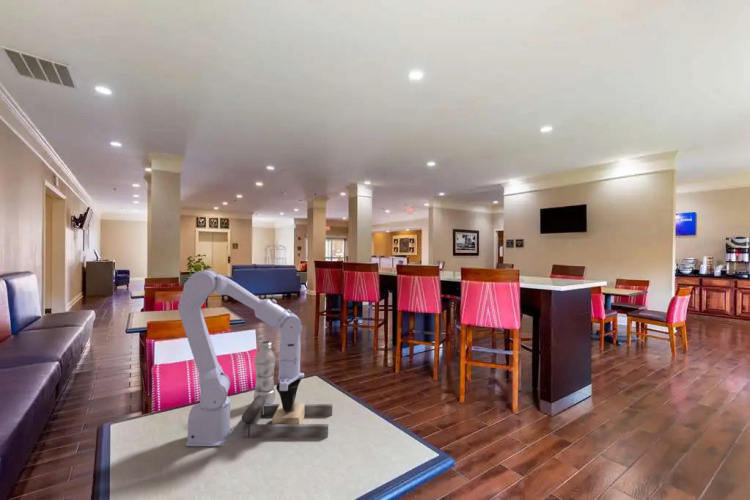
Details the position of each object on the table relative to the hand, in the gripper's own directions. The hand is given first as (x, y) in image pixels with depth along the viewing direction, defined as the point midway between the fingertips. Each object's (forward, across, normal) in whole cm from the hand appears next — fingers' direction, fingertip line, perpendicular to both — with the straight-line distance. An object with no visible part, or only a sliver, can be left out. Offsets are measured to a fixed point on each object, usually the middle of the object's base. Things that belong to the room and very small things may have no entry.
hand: (288, 407), depth 96 cm
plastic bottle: (+6, +16, +11) cm, 20 cm away
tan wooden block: (+5, 0, 0) cm, 5 cm away
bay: (+6, 0, -1) cm, 6 cm away
